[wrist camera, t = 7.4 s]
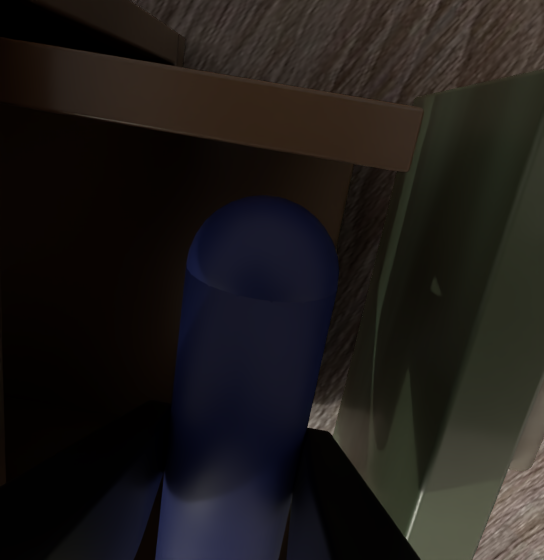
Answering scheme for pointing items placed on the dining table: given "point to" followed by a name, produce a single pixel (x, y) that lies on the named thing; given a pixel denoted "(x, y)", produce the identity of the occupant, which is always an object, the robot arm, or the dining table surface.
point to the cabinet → (93, 38)
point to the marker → (244, 378)
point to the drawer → (329, 211)
